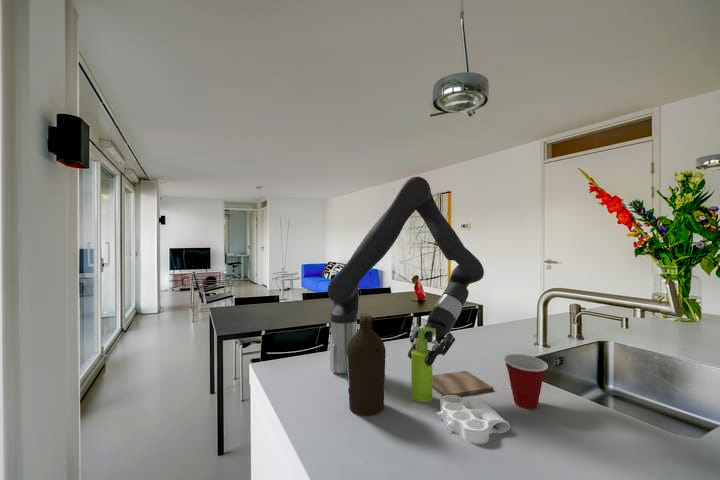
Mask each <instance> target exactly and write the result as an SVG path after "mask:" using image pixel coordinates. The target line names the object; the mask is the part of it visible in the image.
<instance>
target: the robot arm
mask: <svg viewBox="0 0 720 480" xmlns="http://www.w3.org/2000/svg"><path fill="white" fill-rule="evenodd" d="M415 212H417V213H418V215H419V216H420V218H421V219H422V220H423V221H424V223H425V225H426V227H427V228H428V231H429V232H430V233H431V236H432V238H433V240H434V241H435V243H436V245H437V247H438V248H439V250H440V251H441V252H442V254H443V256H444V257H445V259H446V260H448V261H454V262H455V263H456V264H457V266H455V267H454V269H453V270H452V271H451V273H450V277H449V280H448V283H447V286H446V288H445V289H444V291H443V292H442V294H441V296H440V297H439V299H438V300H437V302H436V303H435V305H434V307H433V308H432V310H431V311H430V313H429V316H428V317H427V319H426V324H424V326H423V327H430V328H434V329H436V331H435V332H431V331H425V338H426V339H427V340H428V344H429V343H431V350H430V349H429V350H430V352H429V354H428V356H427V357H426V359H425V363H426V365H428V366H431V365H432V366H433V364H434V362H435V360H436V359H437V356H439V355H442V356H445V355H446V354H447V352H448V351H449V350H450V348H451V347H452V345H453V344H454V342H455V341H456V338H455V337H454V334H452V333H451V331H452V329H453V327H454V326H455V323H456V322H457V320H458V318H459V316H460V314H461V312H462V308H463V307H464V305H465V304H466V301H467V300H468V297H469V295H470V293H469V290H468V287H469V285H471V284H473V283H476V282H479V281H481V280H482V279H483V278H484V275H485V269H484V266H483V264H482V263H481V262H480V260H479V259H478V257H476V256H475V255H474V254H473V253H472V252H471V251H470V250H469V249H467V247H466V246H464V244H463V241H461V239H460V238H459V236H458V235H457V233H456V231H455V229H454V228H453V227H452V226H451V224H450V223H449V221H448V220H447V219H446V218H445V216H444V215H443V214H442V212H441V210H440V209H439V207H438V205H437V203H436V201H435V199H434V197H433V194H432V191H431V186H430V184H429V181H427V180H426V178H424V177H422V176H412V177H409V179H406V180H405V182H404V183H403V184H402V186H401V188H400V189H399V191H398V193H397V195H396V196H395V198H394V200H393V201H392V203H391V204H390V206H389V207H388V208H387V210H386V211H385V212H384V213H383V214H382V215H381V216H380V218H378V220H377V221H376V223H374V225H373V226H372V227H371V228H370V230H369V231H368V232H367V234H366V235H365V237H364V238H363V239H362V240H361V242H360V243H359V245H358V247H357V248H355V250H354V252H353V254H352V255H351V257H350V258H349V260H348V261H347V263H346V264H345V265H344V266H343V267H342V268H341V269H340V270H339V271H338V273H336V275H335V276H333V278H331V280H330V281H329V282H328V286H327V295H328V297H329V299H330V301H332V302H333V308H332V310H331V313H330V341H329V369H330V371H331V372H332V374H339V375H341V374H342V375H348V368H347V354H346V352H347V346H348V343H349V341H350V339H351V338H352V337H353V336H354V335H355V334H356V333H357V331H358V318H357V317H358V313H359V283H360V282H361V280H362V279H363V277H365V276H366V274H367V273H368V272H369V271H370V270H371V269H373V268H374V266H376V265H377V264H378V263H380V261H381V260H382V259H383V258H384V257H385V256H386V254H387V253H388V252H389V250H391V248H392V246H393V245H394V244H395V242H396V241H397V239H398V238H399V236H400V234H401V232H402V230H403V229H404V226H405V224H406V223H407V221H408V220H409V218H410V217H411V216H412V215H413V213H415ZM417 327H421V326H420V325H419V324H416V325H414V329H413V331H412V334H411V335H410V337H409V342H410V343H411V344H412V346H411V347H410V349H409V350H408V353H407V357H408V358H409V359H410V360H411V351H412V350H414V349H416V339H417V338H419V331H417Z"/></svg>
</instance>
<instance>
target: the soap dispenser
mask: <svg viewBox="0 0 720 480" xmlns="http://www.w3.org/2000/svg"><path fill="white" fill-rule="evenodd" d="M417 331H419V338H417V339H416V349H414V350H412V351H411V359H410V360H411V361H410V364H411V367H410V368H411V373H410V376H411V398H412V400H414V401H415V402H418V403H429V402H431V401H432V400H433V388H432V375H433V364H432V365H431V366H428V365H426V363H425V359H426V357H427V356H428V354H429V352H430V349H428V348H429V347H428V344H429V342H428V340H427V339H426V338H425V331H431V332H435V331H436V329H434V328H430V327H424V326H420V327H417Z"/></svg>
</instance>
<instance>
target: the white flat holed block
mask: <svg viewBox="0 0 720 480" xmlns="http://www.w3.org/2000/svg"><path fill="white" fill-rule="evenodd" d="M439 401H440V402H439V403H440V404H439V406H440V407H439V408H440V411H438V412H437V413H436V415H437V416H439V417H441V418H442V422H444V423H446V425H445V427H447V428H448V429H450V431H452V432H454V433H455V434H458V435H460V436H461V437H462V438H463V440H464V441H465V442H468V443H471V444H475V445H484V444H486V443H488V442H489V441H490V435H491V434H503V433H506V432H508V431H509V430H510V428H511V425H510V423H509V421H507V420H505V419H504V417H502V416H501V415H499V413H497V411H496V410H494V409H492V407H490V406H489V405H488V404H487V402H486V401H484V400H482V399H479V398H469V399H467V398H464V397H462V396H455V395H445V396H441V397H440V400H439ZM494 426H495V427H496V428H497V429H496V428H495V427H494Z"/></svg>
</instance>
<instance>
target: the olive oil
mask: <svg viewBox="0 0 720 480" xmlns="http://www.w3.org/2000/svg"><path fill="white" fill-rule="evenodd" d="M358 321H359V324H358V325H359V328H358V329H357V333H356V334H355V335H354V336H353V337H352V338H351V339H350V341H349V343H348V346H347V352H346V354H347V368H348V374H347V383H348V389H347V390H348V391H347V392H348V402H349V409H350V411H351V412H352V413H354V414H356V415H359V416H374V415H377V414H380V413H381V412H383V410H384V409H385V383H386V382H385V381H386V379H385V377H386V375H385V373H386V357H387V356H386V353H387V352H386V347H385V343H384V341H383V339H382V338H381V337H380V336H379V335H378V334H377V333H376V332H375V331H374V329H373V327H372V326H373V320H372V314H369V313H362V314H360V315H359V320H358Z"/></svg>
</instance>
